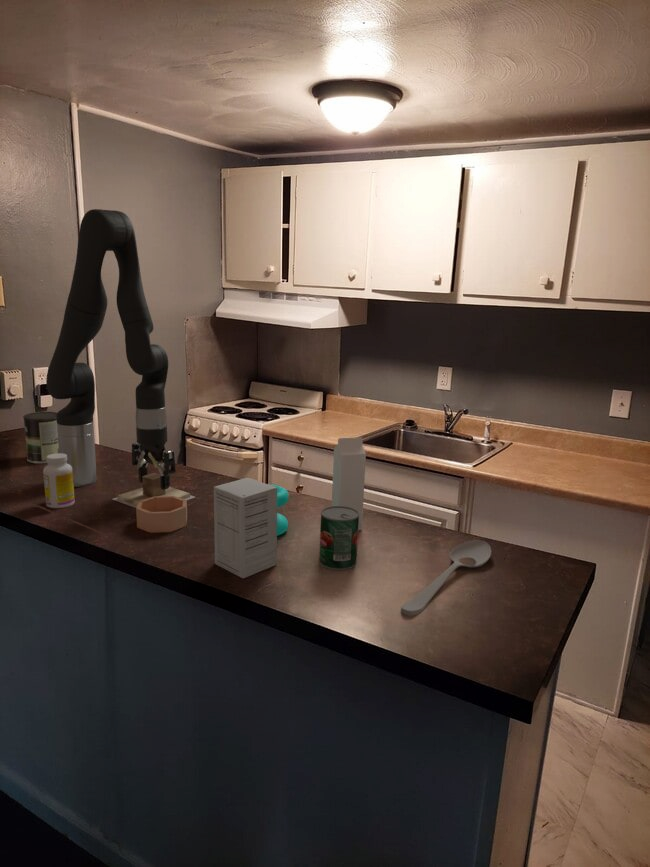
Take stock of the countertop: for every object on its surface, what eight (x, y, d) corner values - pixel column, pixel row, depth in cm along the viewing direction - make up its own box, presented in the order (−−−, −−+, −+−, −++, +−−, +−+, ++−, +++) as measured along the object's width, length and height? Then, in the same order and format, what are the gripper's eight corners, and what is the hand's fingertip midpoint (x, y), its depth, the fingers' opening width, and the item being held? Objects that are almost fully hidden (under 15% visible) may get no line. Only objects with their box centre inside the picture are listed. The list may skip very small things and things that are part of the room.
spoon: (465, 546, 136) (465, 535, 135) (498, 555, 131) (499, 544, 130) (385, 615, 108) (385, 602, 108) (424, 630, 104) (425, 617, 103)
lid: (117, 498, 155) (116, 476, 153) (157, 486, 165) (157, 465, 164) (150, 510, 148) (149, 487, 146) (190, 497, 158) (190, 475, 156)
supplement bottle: (79, 501, 153) (76, 453, 150) (66, 510, 147) (62, 460, 144) (55, 499, 154) (51, 451, 151) (40, 508, 147) (36, 458, 144)
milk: (361, 530, 142) (367, 440, 136) (337, 532, 140) (342, 441, 135) (353, 520, 147) (358, 434, 142) (330, 522, 146) (334, 434, 140)
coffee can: (23, 464, 181) (19, 419, 178) (31, 455, 191) (27, 411, 187) (60, 463, 183) (56, 418, 180) (65, 454, 193) (62, 411, 190)
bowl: (128, 525, 139) (127, 505, 138) (165, 511, 148) (164, 492, 147) (159, 537, 133) (159, 516, 132) (196, 523, 142) (196, 503, 141)
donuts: (238, 486, 139) (277, 480, 144) (238, 526, 141) (276, 519, 146) (256, 500, 131) (296, 493, 136) (256, 542, 133) (295, 534, 138)
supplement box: (278, 565, 123) (279, 487, 119) (243, 580, 116) (243, 498, 112) (248, 550, 129) (248, 476, 125) (213, 563, 122) (212, 485, 118)
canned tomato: (311, 559, 126) (313, 510, 123) (340, 550, 130) (342, 503, 128) (334, 574, 120) (337, 522, 117) (364, 564, 124) (367, 514, 122)
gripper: (121, 422, 152) (124, 483, 156) (158, 431, 144) (160, 495, 148) (145, 418, 158) (148, 476, 162) (182, 426, 150) (184, 487, 154)
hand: (154, 485), depth 155 cm, fingers open, 8 cm apart
